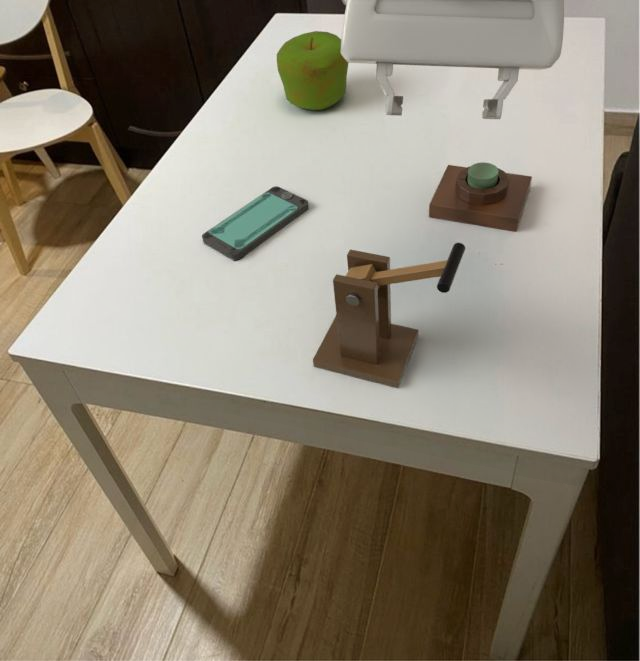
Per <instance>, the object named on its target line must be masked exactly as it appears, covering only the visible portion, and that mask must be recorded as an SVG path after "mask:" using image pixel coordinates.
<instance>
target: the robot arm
mask: <svg viewBox="0 0 640 661" xmlns="http://www.w3.org/2000/svg"><path fill="white" fill-rule="evenodd" d="M341 2H342V3H343V5H345V11H344V15H343V22H342V30H341V38H340V39H341V55H342V56H343V57H344V59H345V60H346V61H347V62H348V64H369V65H376V70H375V72H376V73H375V78H376V80H377V82H378V84H379V87H380V88H381V90H382V93H383V94H384V96H385V108H384V109H385V110H384V111H385V116H397V117H398V116H400V117H401V116H403V107H402V105H403V104H404V95H395V92H394V90H393V88H392V86H391V83H390V82H389V79H388V78H390V77H391V76H393V74H394V73H393V72H394V65H396V66H421V67H424V66H425V67H449V68H450V67H452V68H474V69H475V68H477V69H498V73H497V74H498V75H497V81H498V82H502V83H501V85H500V86H499V88H498V89H497V91H496V93H495V94H494V95H493V97H492V98H487V99H483V104H482V108H483V110H482V113H481V117H482V120H501V118H502V114H503V109H504V108H503V107H504V106H503V105H504V100H506V98H507V97H508V96H509V95H510V93H511V91H512V90H513V89H514V87H515V85H516V84H517V83H518V81H519V75H520V74H519V73H520V70H527V71H528V70H530V71H531V70H533V71H542V70H547V69H550V68H552V67H553V66H554V65H555V64H556V63H557V61H559V59H560V57H561V55H562V50H563V41H564V30H565V0H341Z"/></svg>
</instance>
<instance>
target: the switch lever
mask: <svg viewBox="0 0 640 661" xmlns="http://www.w3.org/2000/svg"><path fill="white" fill-rule="evenodd" d="M465 251H466V246H465V244H464V243H462V242H455V243H453V244H452V247H451V249H450V252H449V255H448V257H447V259H445V260H440V261H434V262H428V263H423V264H417V265H411V266H405V267H399V268H393V269H390V270H386V271H380V272H376V270H375V268H374V266H373V264H370V265H364V266H358V267H353V268H350V269H349V271H348V270H347V272H346V274H345V276H347V277H352V278H357V279H362V280H367V281H372V282H377V289H379V286H381V285H388V284H390V285H393V284H401V283H407V282H414V281H420V280H426V279H432V278H439V279H438V282H437V285H436V289H437V290H438V291H439V293H441V294H442V293H443V294H447V293H448V292H450V291H451V288H452V285H453V282H454V280H455V277H456V274H457V272H458V270H459V267H460V264H461V261H462V259H463V256H464V254H465Z"/></svg>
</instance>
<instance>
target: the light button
mask: <svg viewBox="0 0 640 661" xmlns="http://www.w3.org/2000/svg"><path fill="white" fill-rule="evenodd" d="M469 166H470V168H469V169H468V180H467V182H468V184H469V185H470V186H471V187H473V188H478V189H489V188H493V187H494V186H495V185H496V184H497V181H498V173H499V171H498V168H499V167H497V165H495V164H493V163H490V162H485V161H484V162H483V161H482V162H476V163H473V164H471V165H469Z"/></svg>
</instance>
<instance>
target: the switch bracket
mask: <svg viewBox="0 0 640 661" xmlns="http://www.w3.org/2000/svg"><path fill="white" fill-rule="evenodd" d="M346 261H347V262H346V263H347V272H348V271H349V269H350V268H353V267H358V266H364V265H370V264H373V266H374V268H375V270H376V272H380V271H386V270H391V257H390V256H386V255H382V254H376V253H372V252H366V251H361V250H355V249H349V250H348V252H347V254H346ZM332 286H333V294H334V296H333V297H334V304H335V305H334V306H335V316H334V318H333V320H332V322H331V324H330V326H329V328H328V330H327V332H326V334H325V335H324V338H323V340H322V341H321V343H320V345H319V347H318V349H317V351H316V353H315V355H314V356H313V358H312V366H313V367H315V368H318V369H322V370H326V371H330V372H334V373H338V374H342V375H346V376H349V377H353V378H356V379H361V380H364V381H369V382H373V383H376V384H381V385H385V386H387V387H392V388H396V389H399V386H400V383H401V381H402V379H403V377H404V374H405V371H406V368H407V366H408V363H409V362H410V360H411V356H412V354H413V351H414V349H415V346H416V344H417V341H418V339H419V336H420V335H419V332H420V330H419V329H417V328H414V327H413V328H412V327H409V326H404V325H399V324H395V323H392V300H391V299H392V296H391V284H388V285H381V286H379V289H377V282H372V281H367V280H362V279H357V278H352V277H347V276H346V275H342V274H337V273H336V274H335V276H334V277H333V280H332Z"/></svg>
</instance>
